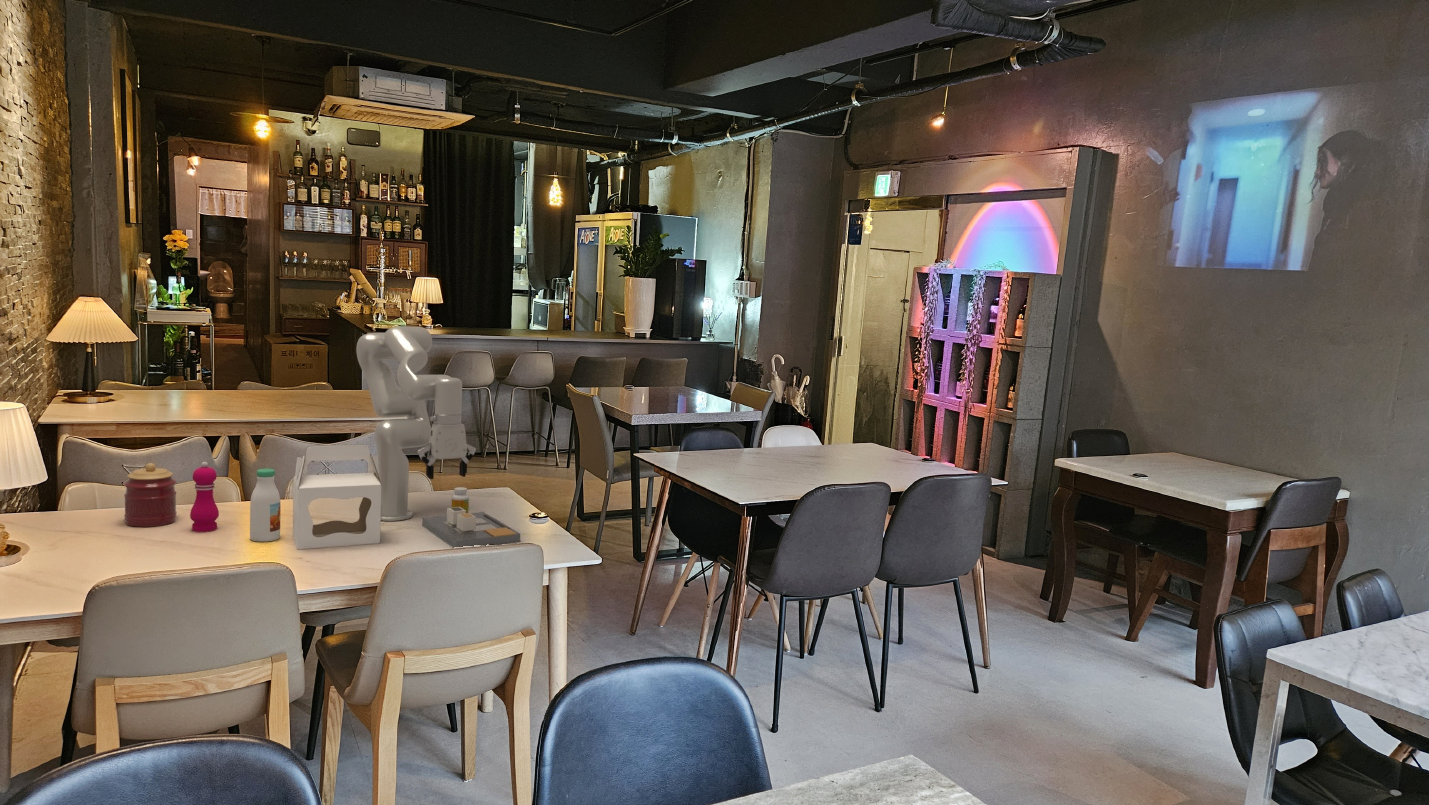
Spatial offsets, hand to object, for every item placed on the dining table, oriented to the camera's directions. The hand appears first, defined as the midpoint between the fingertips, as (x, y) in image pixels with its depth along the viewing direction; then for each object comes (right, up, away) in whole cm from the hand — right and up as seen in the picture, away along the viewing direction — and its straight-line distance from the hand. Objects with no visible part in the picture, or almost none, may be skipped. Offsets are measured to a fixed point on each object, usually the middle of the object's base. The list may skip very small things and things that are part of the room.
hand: (446, 477), depth 260 cm
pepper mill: (-69, -15, -4) cm, 71 cm away
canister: (-87, -13, 0) cm, 88 cm away
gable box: (-30, -18, -5) cm, 36 cm away
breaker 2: (+4, -16, +6) cm, 18 cm away
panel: (+4, -18, +11) cm, 22 cm away
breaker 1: (-1, -15, +12) cm, 19 cm away
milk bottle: (-49, -17, -9) cm, 53 cm away
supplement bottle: (-4, -16, +28) cm, 33 cm away
